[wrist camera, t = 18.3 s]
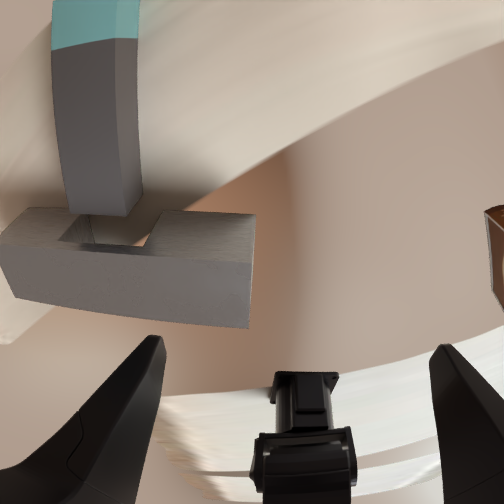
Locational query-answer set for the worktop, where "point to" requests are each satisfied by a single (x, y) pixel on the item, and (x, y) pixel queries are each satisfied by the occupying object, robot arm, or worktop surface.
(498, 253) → the food container
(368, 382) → the worktop surface
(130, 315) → the long gray rectangular block
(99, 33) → the bar
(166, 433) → the worktop surface
